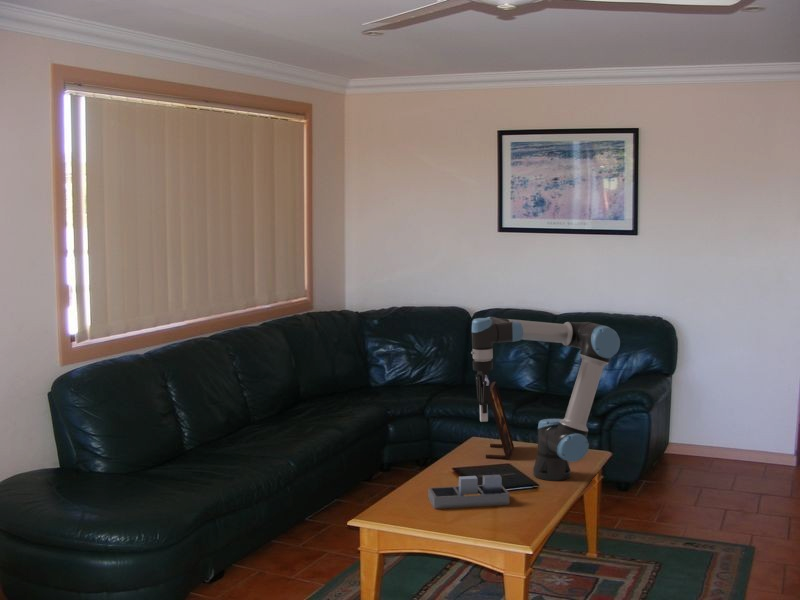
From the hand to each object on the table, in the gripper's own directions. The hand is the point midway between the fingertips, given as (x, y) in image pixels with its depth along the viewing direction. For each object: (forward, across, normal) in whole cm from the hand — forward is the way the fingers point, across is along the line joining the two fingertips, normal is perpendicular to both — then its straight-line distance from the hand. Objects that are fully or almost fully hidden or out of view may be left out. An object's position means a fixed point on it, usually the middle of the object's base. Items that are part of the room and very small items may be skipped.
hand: (483, 420), depth 343 cm
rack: (+28, +8, -9) cm, 30 cm away
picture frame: (+29, -52, +22) cm, 63 cm away
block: (+27, +8, -9) cm, 29 cm away
